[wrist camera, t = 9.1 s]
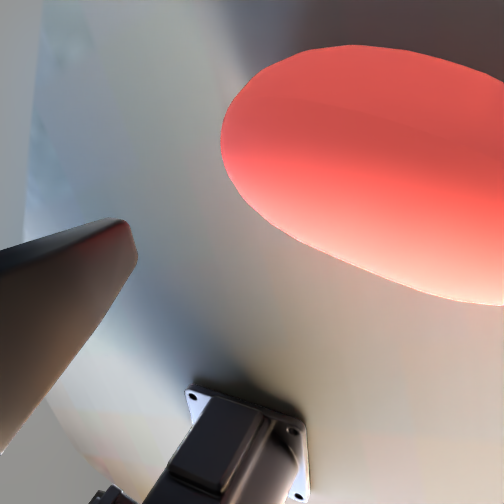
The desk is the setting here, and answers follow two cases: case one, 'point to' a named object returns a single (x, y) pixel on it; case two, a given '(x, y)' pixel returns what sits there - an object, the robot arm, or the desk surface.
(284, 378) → the desk surface
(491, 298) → the stress ball
